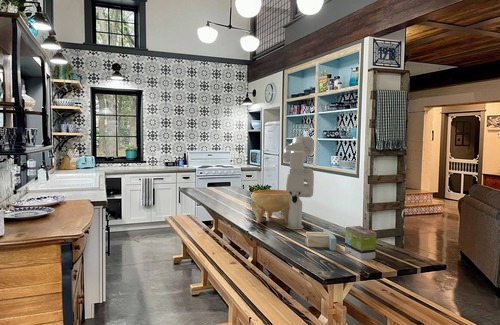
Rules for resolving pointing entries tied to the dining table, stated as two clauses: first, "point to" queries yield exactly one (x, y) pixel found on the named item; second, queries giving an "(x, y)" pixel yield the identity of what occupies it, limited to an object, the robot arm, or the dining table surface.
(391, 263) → the dining table surface
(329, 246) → the board
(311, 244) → the maple brick
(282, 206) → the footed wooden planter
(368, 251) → the tea box
